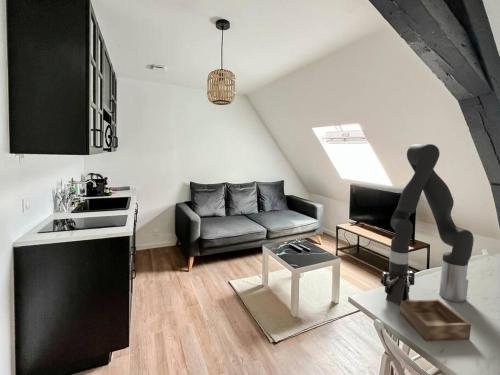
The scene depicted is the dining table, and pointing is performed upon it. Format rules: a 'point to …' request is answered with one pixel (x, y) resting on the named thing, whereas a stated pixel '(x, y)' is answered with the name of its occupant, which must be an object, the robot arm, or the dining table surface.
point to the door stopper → (398, 291)
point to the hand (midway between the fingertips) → (396, 293)
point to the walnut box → (435, 320)
